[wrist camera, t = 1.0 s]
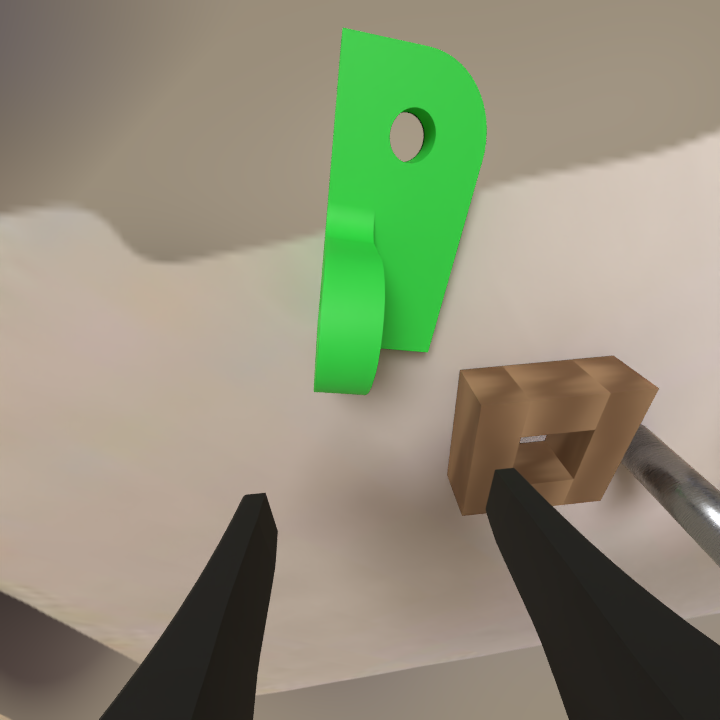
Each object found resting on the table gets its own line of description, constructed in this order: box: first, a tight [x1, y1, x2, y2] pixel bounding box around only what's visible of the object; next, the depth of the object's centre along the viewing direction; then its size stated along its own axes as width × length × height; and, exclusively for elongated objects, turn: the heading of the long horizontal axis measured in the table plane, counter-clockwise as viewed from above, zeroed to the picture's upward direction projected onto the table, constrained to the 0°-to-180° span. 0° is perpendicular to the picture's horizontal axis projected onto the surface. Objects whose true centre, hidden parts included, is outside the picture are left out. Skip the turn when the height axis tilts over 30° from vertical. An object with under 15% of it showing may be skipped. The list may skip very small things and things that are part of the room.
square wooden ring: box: [447, 356, 659, 516], centre depth 22 cm, size 10×10×4 cm
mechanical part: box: [314, 28, 487, 395], centre depth 13 cm, size 12×6×8 cm, turn 172°
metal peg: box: [621, 425, 720, 567], centre depth 22 cm, size 3×3×9 cm
